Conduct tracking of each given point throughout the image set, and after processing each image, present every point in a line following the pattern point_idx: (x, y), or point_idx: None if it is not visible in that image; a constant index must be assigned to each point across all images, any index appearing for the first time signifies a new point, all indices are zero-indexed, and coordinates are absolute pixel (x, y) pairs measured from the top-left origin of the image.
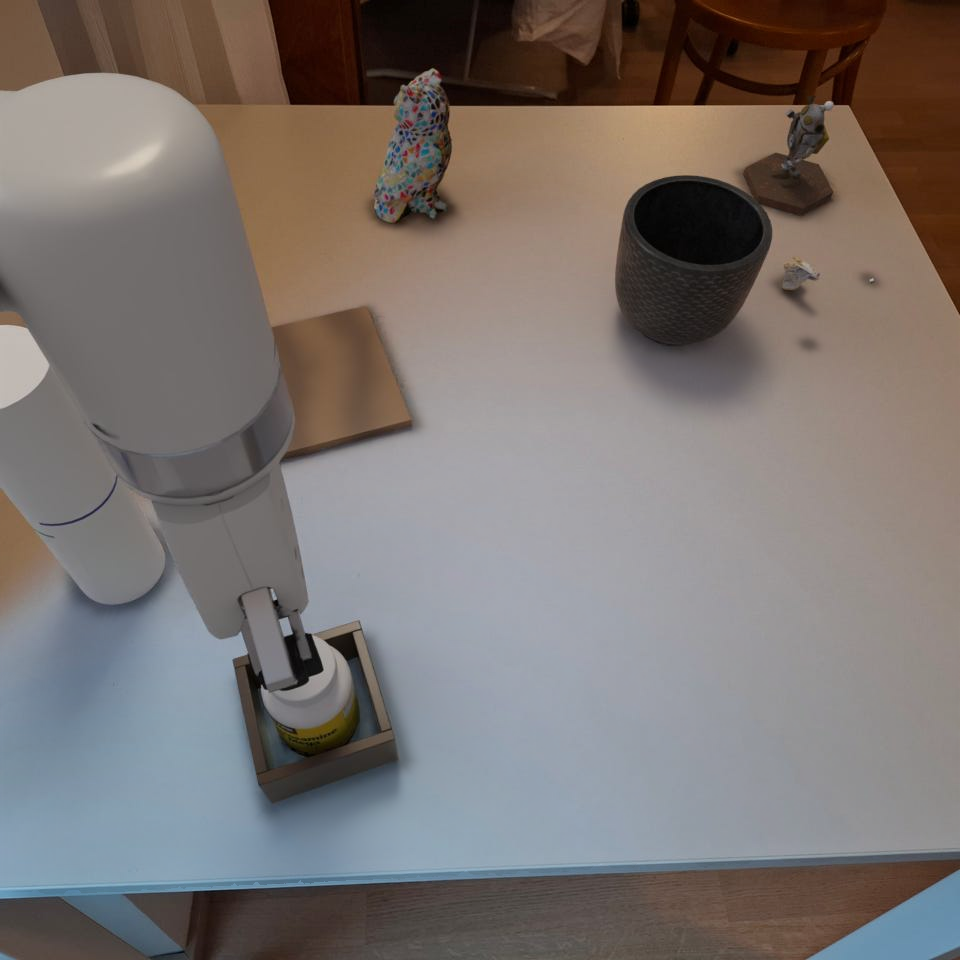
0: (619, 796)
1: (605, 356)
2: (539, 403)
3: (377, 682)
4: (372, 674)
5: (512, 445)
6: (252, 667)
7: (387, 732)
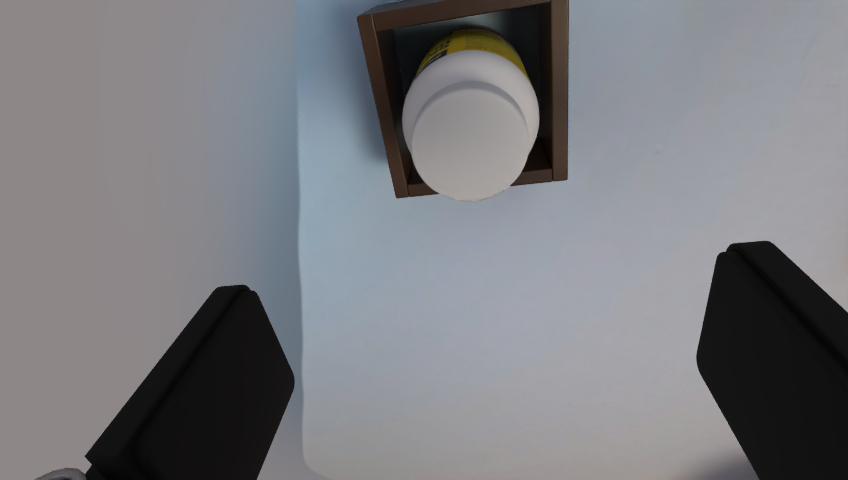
0: (348, 329)
1: None
2: None
3: None
4: None
5: None
6: (118, 414)
7: (405, 191)
